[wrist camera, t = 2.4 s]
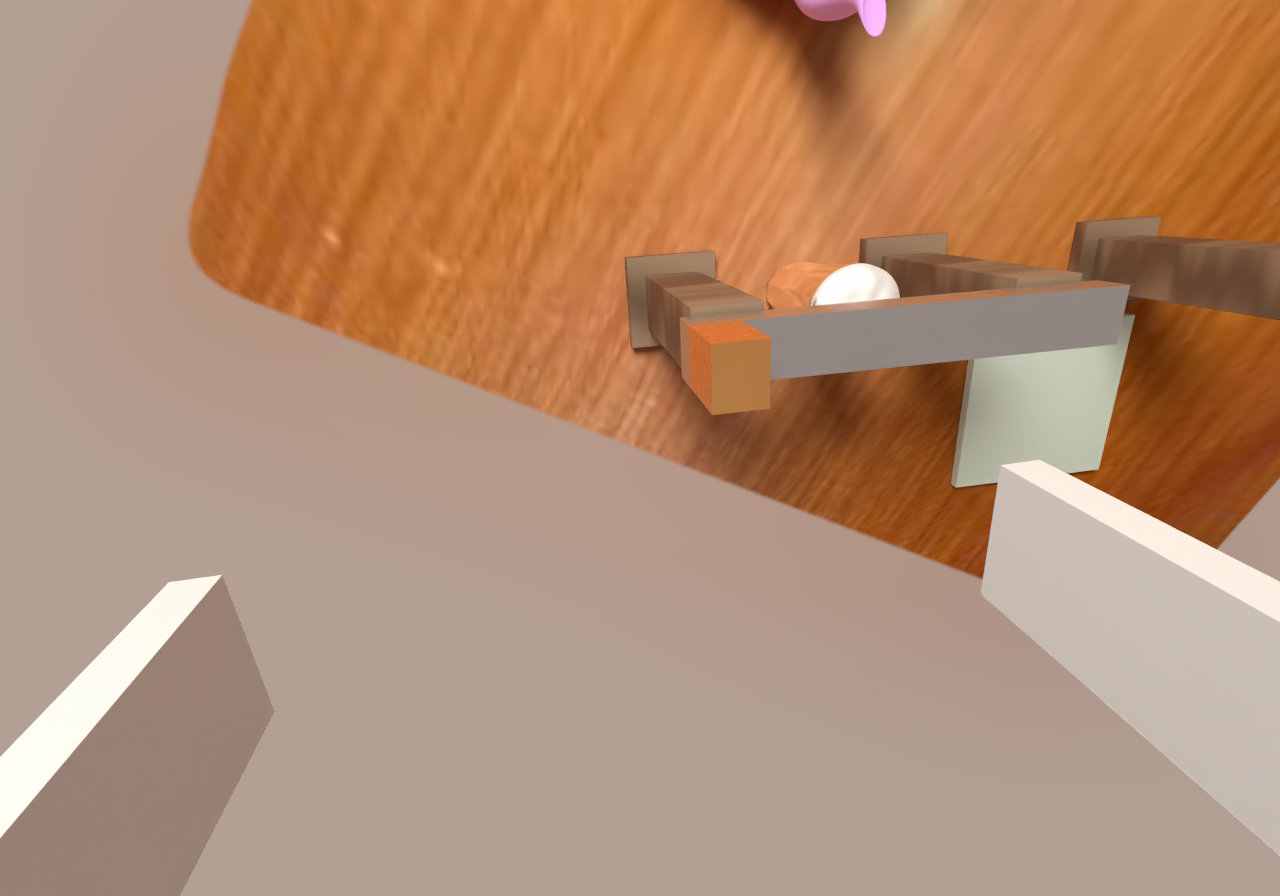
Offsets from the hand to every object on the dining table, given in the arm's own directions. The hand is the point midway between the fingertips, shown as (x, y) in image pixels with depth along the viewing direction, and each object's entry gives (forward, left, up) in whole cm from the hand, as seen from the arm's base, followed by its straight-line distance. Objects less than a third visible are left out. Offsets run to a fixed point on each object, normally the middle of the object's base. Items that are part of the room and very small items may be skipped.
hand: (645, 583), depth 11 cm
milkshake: (0, +13, -27) cm, 30 cm away
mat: (+9, +31, -27) cm, 42 cm away
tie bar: (0, +13, -15) cm, 20 cm away
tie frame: (0, +20, -27) cm, 34 cm away
